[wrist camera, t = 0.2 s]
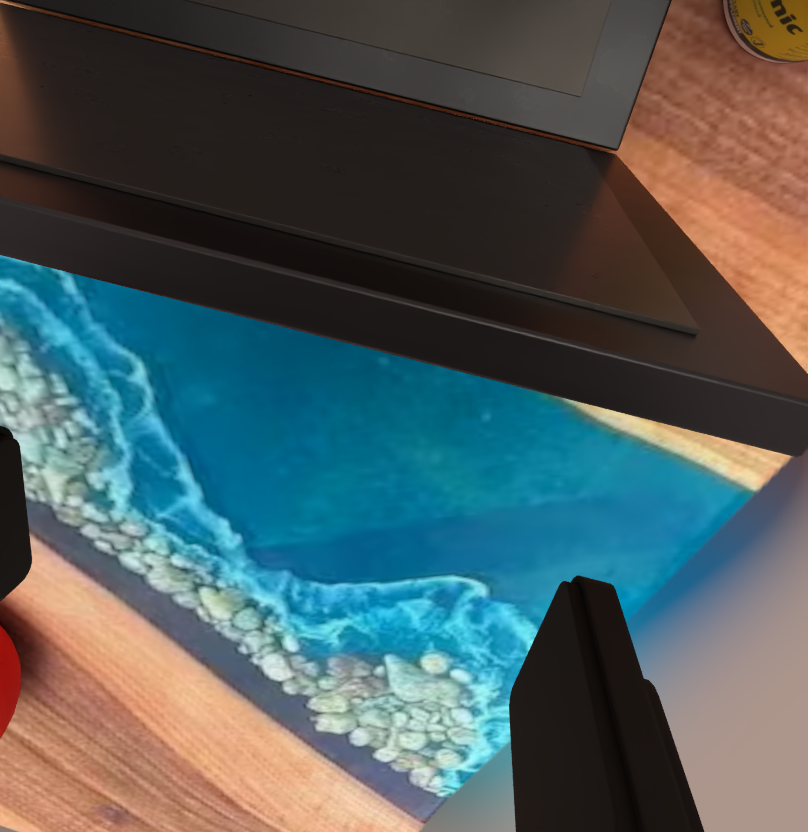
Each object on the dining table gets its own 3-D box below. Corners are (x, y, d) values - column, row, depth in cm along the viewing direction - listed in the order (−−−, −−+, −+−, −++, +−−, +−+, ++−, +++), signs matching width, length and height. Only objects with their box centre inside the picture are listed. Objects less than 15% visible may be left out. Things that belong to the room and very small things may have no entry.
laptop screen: (-1050, -75, 7) (-960, 13, 7) (849, 404, 6) (801, 460, 7) (-6, -3, 21) (0, 26, 21) (618, 151, 20) (608, 176, 21)
